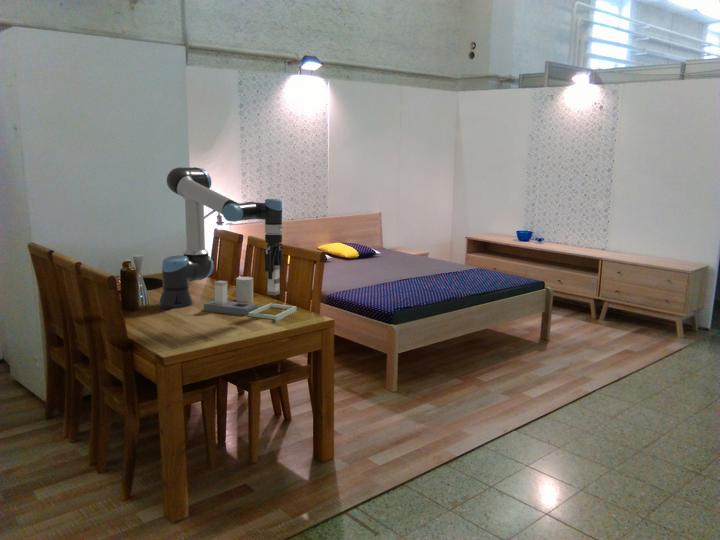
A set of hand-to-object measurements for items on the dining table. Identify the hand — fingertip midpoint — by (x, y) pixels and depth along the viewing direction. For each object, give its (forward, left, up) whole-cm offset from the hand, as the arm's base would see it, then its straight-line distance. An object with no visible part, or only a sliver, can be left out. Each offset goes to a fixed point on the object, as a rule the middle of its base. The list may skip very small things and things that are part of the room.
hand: (273, 285), depth 274 cm
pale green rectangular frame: (0, 0, -14) cm, 14 cm away
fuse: (-24, -5, -13) cm, 28 cm away
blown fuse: (0, 0, -4) cm, 4 cm away
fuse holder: (-19, -5, -14) cm, 24 cm away
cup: (-24, +16, -14) cm, 32 cm away
